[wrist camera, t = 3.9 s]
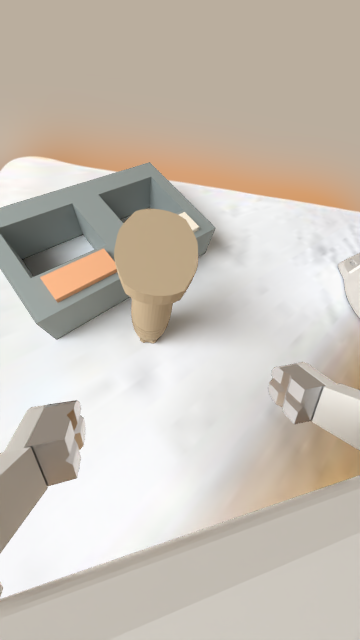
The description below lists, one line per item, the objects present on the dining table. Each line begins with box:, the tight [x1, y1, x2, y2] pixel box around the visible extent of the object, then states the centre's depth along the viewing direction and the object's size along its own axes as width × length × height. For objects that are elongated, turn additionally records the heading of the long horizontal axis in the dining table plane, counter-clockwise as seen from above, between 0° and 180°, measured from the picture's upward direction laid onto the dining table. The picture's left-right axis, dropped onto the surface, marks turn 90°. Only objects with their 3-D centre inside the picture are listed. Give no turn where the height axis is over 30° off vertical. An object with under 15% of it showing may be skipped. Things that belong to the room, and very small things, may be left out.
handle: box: [114, 209, 198, 343], centre depth 19 cm, size 5×6×15 cm
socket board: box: [0, 162, 215, 340], centre depth 27 cm, size 24×15×6 cm, turn 130°
